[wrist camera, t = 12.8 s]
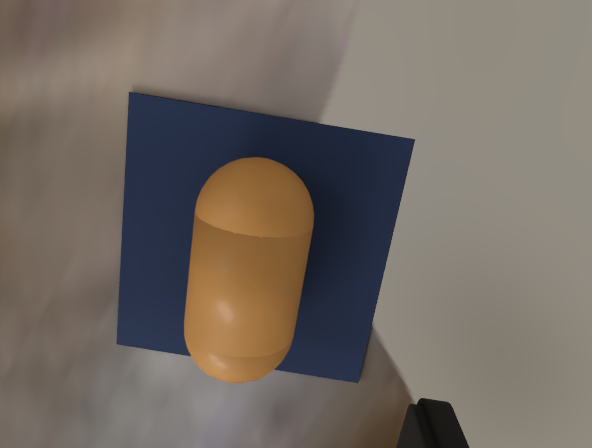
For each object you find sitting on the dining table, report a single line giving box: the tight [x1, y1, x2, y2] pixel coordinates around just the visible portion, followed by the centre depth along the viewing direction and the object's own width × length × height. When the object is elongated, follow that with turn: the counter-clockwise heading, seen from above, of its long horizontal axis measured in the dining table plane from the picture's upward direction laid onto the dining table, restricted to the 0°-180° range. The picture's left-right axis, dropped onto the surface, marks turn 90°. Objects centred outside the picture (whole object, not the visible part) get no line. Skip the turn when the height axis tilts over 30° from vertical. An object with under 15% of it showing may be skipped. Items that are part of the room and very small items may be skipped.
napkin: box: [117, 92, 415, 383], centre depth 21 cm, size 12×12×1 cm
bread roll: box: [184, 157, 314, 383], centre depth 18 cm, size 9×5×5 cm, turn 171°
